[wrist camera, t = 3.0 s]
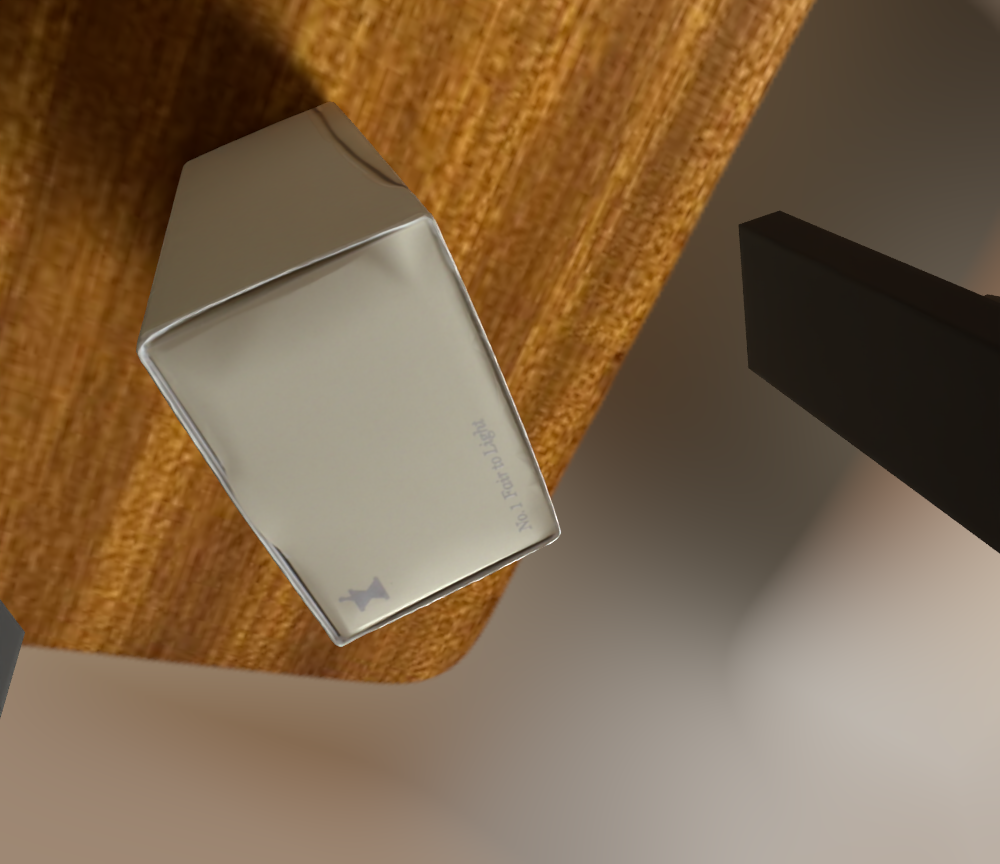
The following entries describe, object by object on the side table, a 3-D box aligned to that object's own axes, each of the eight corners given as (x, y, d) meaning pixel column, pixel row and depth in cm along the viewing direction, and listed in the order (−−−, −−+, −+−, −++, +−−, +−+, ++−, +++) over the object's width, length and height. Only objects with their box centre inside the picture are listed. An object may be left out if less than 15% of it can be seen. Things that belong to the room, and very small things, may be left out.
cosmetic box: (422, 303, 24) (579, 545, 14) (282, 368, 24) (339, 663, 14) (328, 87, 21) (446, 201, 11) (163, 159, 20) (122, 347, 10)
